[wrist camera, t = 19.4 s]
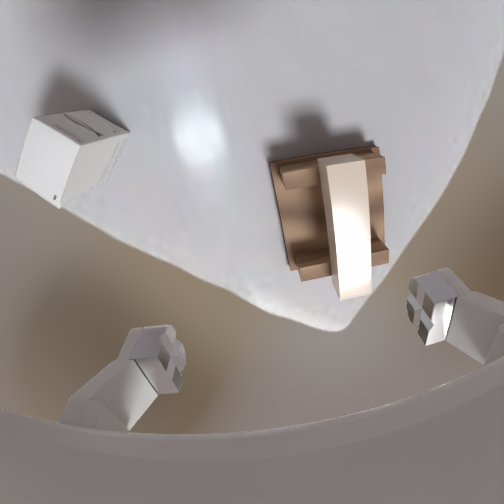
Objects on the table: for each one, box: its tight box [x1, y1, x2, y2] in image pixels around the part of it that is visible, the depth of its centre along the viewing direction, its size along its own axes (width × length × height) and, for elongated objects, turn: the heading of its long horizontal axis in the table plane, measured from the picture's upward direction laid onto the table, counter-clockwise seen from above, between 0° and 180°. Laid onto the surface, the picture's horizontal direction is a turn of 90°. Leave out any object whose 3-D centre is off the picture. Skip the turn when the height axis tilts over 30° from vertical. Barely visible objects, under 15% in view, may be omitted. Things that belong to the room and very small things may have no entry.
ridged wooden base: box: [269, 146, 389, 282], centre depth 36 cm, size 15×14×5 cm
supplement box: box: [15, 110, 130, 209], centre depth 28 cm, size 7×7×13 cm
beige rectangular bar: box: [317, 154, 371, 301], centre depth 32 cm, size 16×4×4 cm, turn 12°
